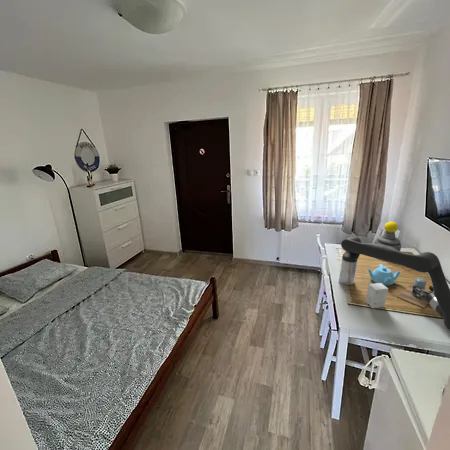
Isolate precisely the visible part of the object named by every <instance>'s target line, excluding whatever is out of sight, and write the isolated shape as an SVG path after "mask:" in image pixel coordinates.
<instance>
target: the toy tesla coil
mask: <svg viewBox="0 0 450 450" xmlns="http://www.w3.org/2000/svg"><path fill="white" fill-rule="evenodd" d="M398 229H399V226H398V224H397V223H396V222H395V221H388V222H386V223H385V224H384V230H385V231H384V233H383V234H382V235H379V236H377V239H375V241H374V243H377V244H383V245H388V246H391V247H394V248H396V249H397V250H399V251H400V252H401V249H402V243H401V240H400V239H399V237H397V236H396V232H397V231H398Z"/></svg>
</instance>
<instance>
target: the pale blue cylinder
mask: <svg viewBox="0 0 450 450" xmlns="http://www.w3.org/2000/svg"><path fill="white" fill-rule="evenodd" d="M413 285H416V286H417V287H418V288H419V289H423V290H425V288H426V286H427V280H426V279H424V278H421V277H416V278H415V279H414V281H413ZM412 291H413V290H412ZM425 291H426V290H425ZM418 292H420V291H419V290H418ZM422 294H423V291H422ZM412 296H414V297H416V298H418V297H417V296H416V295H415V294H414V293H413V292H412ZM420 298H422V297H420Z"/></svg>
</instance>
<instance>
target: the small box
mask: <svg viewBox="0 0 450 450" xmlns="http://www.w3.org/2000/svg"><path fill="white" fill-rule="evenodd" d="M388 292H389V288H388V287H387V286H384V285H383V284H382V283H375V282H374V283H368V286H367V292H366V298H365V303H366V304H367V305H368V304H369V305H370V306H371V307H370V306H369V305H368V306H369V307H370V308H371V309H379V308H380V307H381V308H385V307H386V306H385V305H386V302H387V296H388Z"/></svg>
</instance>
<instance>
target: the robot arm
mask: <svg viewBox="0 0 450 450" xmlns="http://www.w3.org/2000/svg"><path fill="white" fill-rule="evenodd" d="M340 246H341V248H342V249H343V250H344V251H345V252H344V253H343V254H342V258H341V264H340V271H339V277H338V278H339V279H338V282H339V283H341V284H342V285H346V286H352V285H354V283H355V278H356V271H357V267H358V266H357V265H358V260H359V258H360V256H361V255H362V256H366V257H370V258H373V259H375V260H380V261H383V262H388V263H391V264H396V265H399V266H403V267H405V268H408V269H411V270H413V271H416V272H419V273H427V274H428V275H429V278H430V279H431V284H432V285H429V286H428V290H423V289H419V288H418V287H417V286H416V285H414V284H413V285H412V286H413V291H412V292H413V293H414V294H415V295H416V296H417V297H418V298H420V297H424V298H425V299H426V301H427V303H428V305H429V306H430V307H431V308H432V310H434V311H435V312H436V313H437V314H439V316H440V317H441V318H442V319H443V323H444V327H445V329H446V330H447V331H448V332H450V286H449V284H448V282H447V279H446V276H445V273H444V270H443V267H442V265H441V262H440V259H439V258H438V256H437V255H436V254H435V253H433V252H431V251H428V252H427V251H425V252H422V253H419V254H412V253H406V252H402V251H401V250H400V251H399V250H397V249H396V248H394V247H391V246H388V245H383V244H377V243H375V242H373V243H372V242H369V243H367V242H365V243H362V240H361V239H360V238H359V237H358V236H349V237H347V238H344V239H343V240H342V241H341V242H340ZM418 290H419V291H420V292H418ZM422 291H423V294H422Z"/></svg>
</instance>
